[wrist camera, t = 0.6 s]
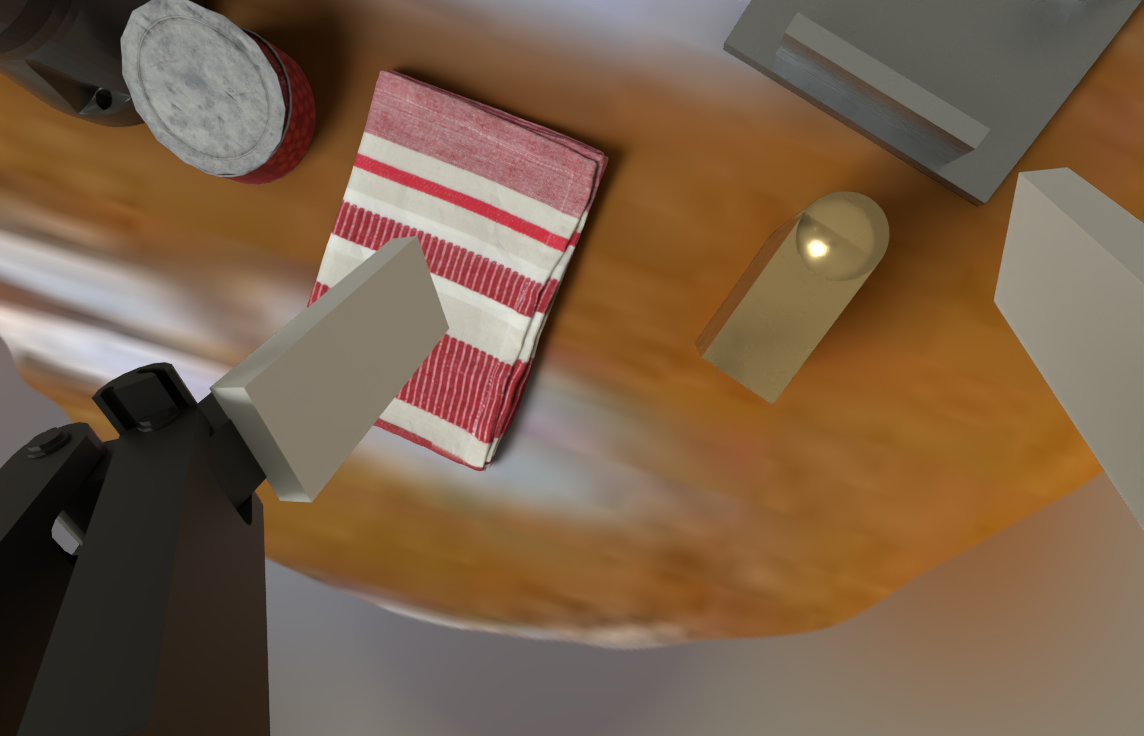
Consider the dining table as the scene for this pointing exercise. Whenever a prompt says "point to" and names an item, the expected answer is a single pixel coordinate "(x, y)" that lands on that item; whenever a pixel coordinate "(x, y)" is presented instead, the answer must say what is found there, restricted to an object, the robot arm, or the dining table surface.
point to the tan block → (795, 291)
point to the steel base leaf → (933, 72)
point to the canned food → (217, 92)
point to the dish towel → (465, 248)
